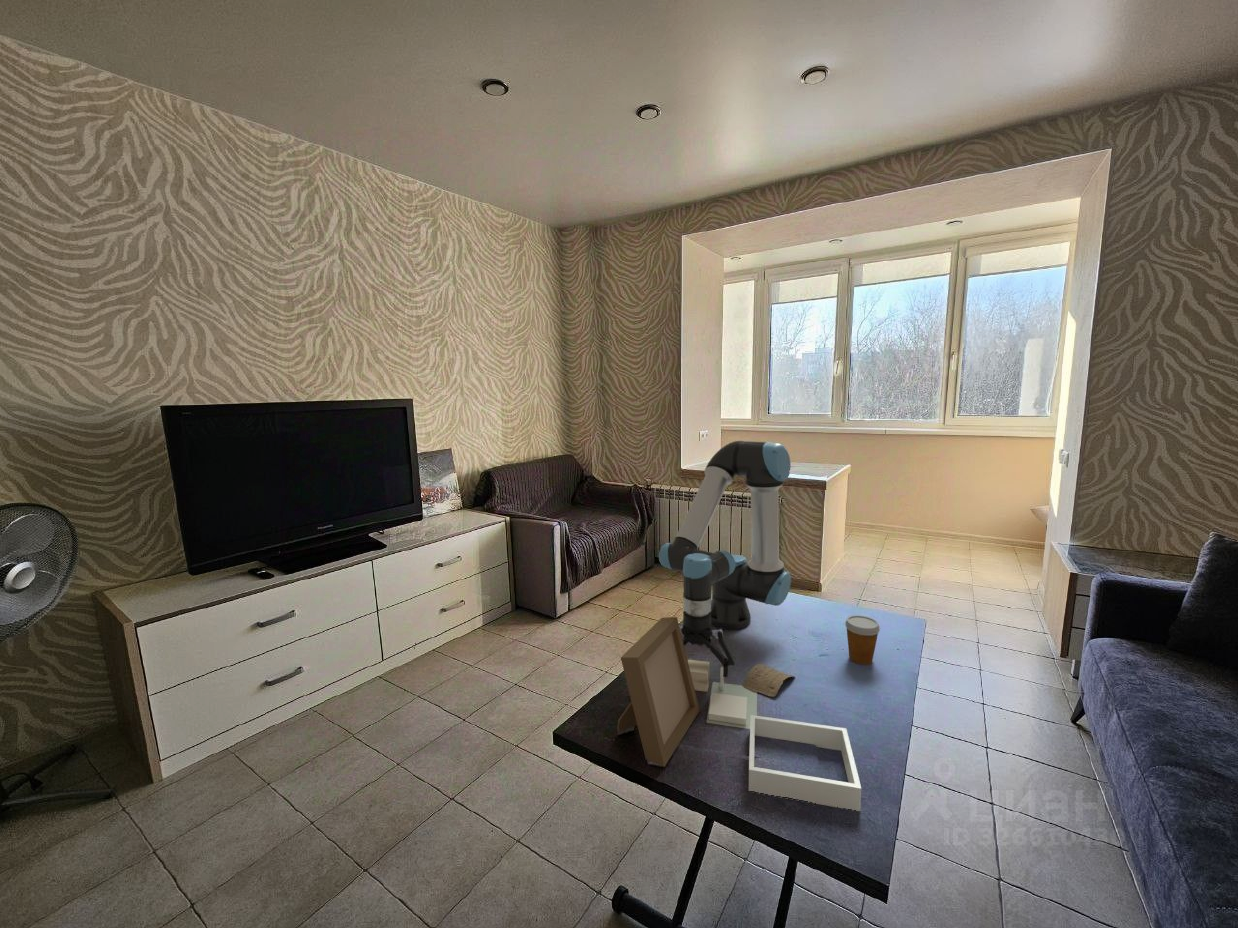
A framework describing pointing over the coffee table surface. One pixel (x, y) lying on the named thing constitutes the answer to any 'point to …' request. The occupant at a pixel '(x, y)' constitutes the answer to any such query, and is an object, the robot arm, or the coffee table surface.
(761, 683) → the clay tablet
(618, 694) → the coffee table surface
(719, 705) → the tile
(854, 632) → the disposable coffee cup
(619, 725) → the photo frame
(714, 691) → the mat
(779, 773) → the white open rectangular frame
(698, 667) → the block
